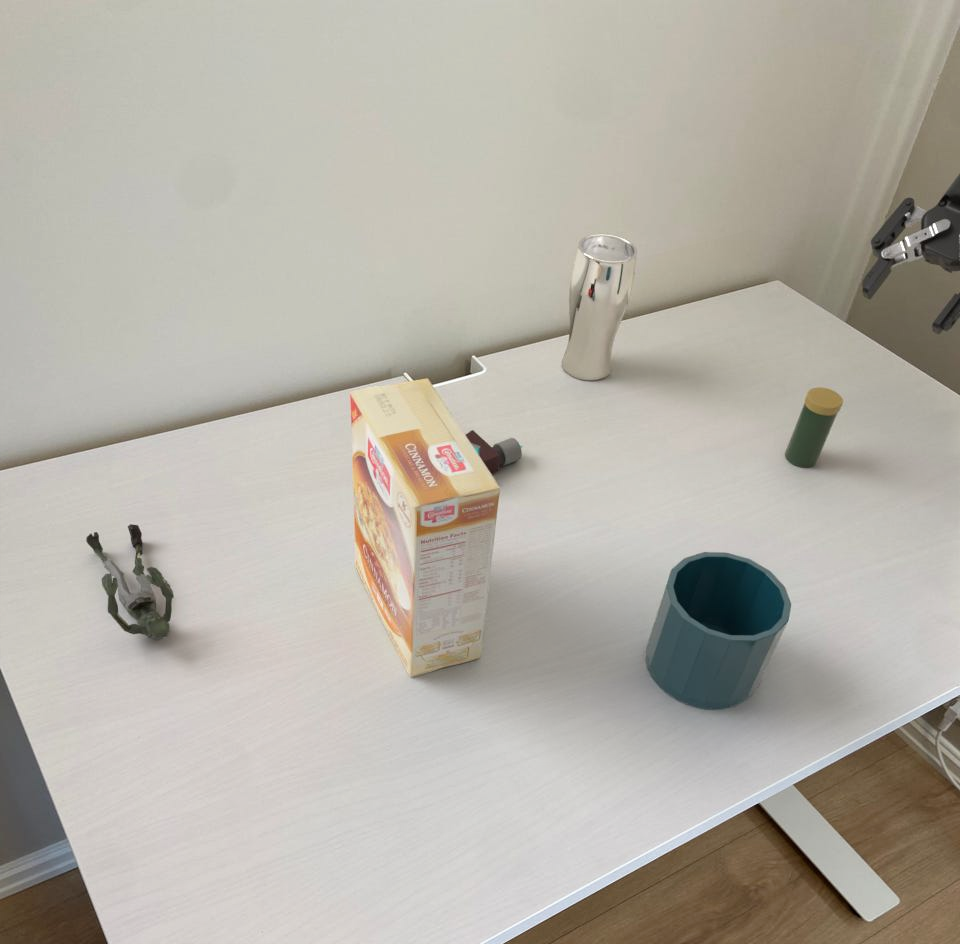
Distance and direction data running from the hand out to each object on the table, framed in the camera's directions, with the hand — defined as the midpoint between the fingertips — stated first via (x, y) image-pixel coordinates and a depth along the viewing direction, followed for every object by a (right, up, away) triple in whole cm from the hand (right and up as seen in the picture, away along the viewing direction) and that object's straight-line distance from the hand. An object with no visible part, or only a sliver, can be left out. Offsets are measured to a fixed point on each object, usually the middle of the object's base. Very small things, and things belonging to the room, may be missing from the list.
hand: (899, 312), depth 103 cm
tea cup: (-25, -37, -16) cm, 47 cm away
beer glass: (-32, -2, +15) cm, 35 cm away
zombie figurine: (-76, -31, -16) cm, 83 cm away
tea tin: (-9, -14, +6) cm, 18 cm away
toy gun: (-47, -15, +1) cm, 49 cm away
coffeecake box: (-51, -32, -14) cm, 62 cm away
